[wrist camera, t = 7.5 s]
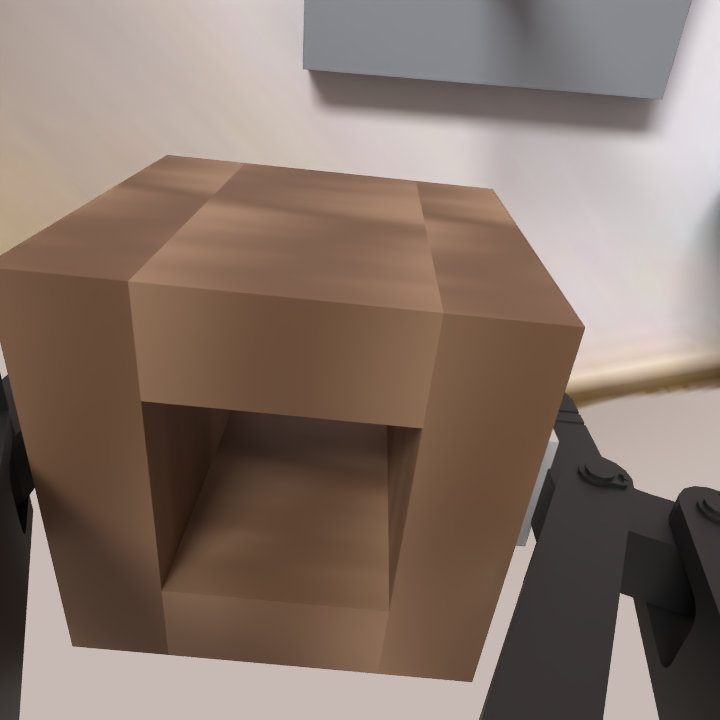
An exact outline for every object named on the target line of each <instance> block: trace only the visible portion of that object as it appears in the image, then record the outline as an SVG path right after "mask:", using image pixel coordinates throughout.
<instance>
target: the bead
mask: <svg viewBox="0 0 720 720" xmlns="http://www.w3.org/2000/svg"><path fill="white" fill-rule="evenodd" d="M584 330H585V326H584V325H583V323H582V322H581V320H580V319H579V317H578V316H577V314H576V313H575V311H574V310H573V308H572V307H571V305H570V304H569V302H568V301H567V299H566V298H565V296H564V295H563V293H562V292H561V290H560V289H559V287H558V286H557V284H556V283H555V281H554V280H553V279H552V277H551V276H550V274H549V273H548V271H547V270H546V268H545V267H544V265H543V264H542V262H541V261H540V259H539V258H538V256H537V255H536V253H535V252H534V250H533V249H532V247H531V246H530V244H529V243H528V241H527V240H526V238H525V237H524V235H523V234H522V232H521V231H520V229H519V228H518V226H517V225H516V223H515V222H514V220H513V219H512V217H511V216H510V214H509V213H508V211H507V210H506V208H505V207H504V205H503V204H502V202H501V201H500V199H499V198H498V196H497V195H496V193H495V192H494V190H493V189H486V188H477V187H467V186H458V185H448V184H439V183H429V182H419V181H410V180H400V179H391V178H381V177H372V176H362V175H353V174H343V173H334V172H324V171H315V170H305V169H295V168H286V167H276V166H267V165H257V164H248V163H238V162H229V161H219V160H210V159H200V158H191V157H181V156H172V155H167V156H165V157H163V158H162V159H160V160H158V161H157V162H155V163H153V164H152V165H150V166H148V167H147V168H145V169H143V170H142V171H140V172H138V173H137V174H135V175H133V176H132V177H130V178H128V179H127V180H125V181H123V182H122V183H120V184H118V185H117V186H115V187H114V188H112V189H110V190H109V191H107V192H105V193H104V194H102V195H100V196H99V197H97V198H95V199H94V200H92V201H90V202H89V203H87V204H85V205H84V206H82V207H80V208H79V209H77V210H75V211H74V212H72V213H70V214H69V215H67V216H65V217H64V218H62V219H60V220H59V221H57V222H55V223H54V224H52V225H50V226H49V227H47V228H46V229H44V230H42V231H41V232H39V233H37V234H36V235H34V236H32V237H31V238H29V239H27V240H26V241H24V242H22V243H21V244H19V245H17V246H16V247H14V248H12V249H11V250H9V251H7V252H6V253H4V254H2V255H1V256H0V343H1V347H2V351H3V355H4V359H5V363H6V368H7V372H8V376H9V380H10V385H11V389H12V393H13V397H14V402H15V406H16V410H17V414H18V418H19V423H20V427H21V431H22V435H23V440H24V444H25V448H26V452H27V456H28V461H29V465H30V469H31V473H32V477H33V482H34V486H35V490H36V494H37V498H38V502H39V507H40V511H41V515H42V520H43V524H44V528H45V532H46V537H47V541H48V545H49V549H50V553H51V558H52V561H53V566H54V570H55V574H56V579H57V583H58V587H59V591H60V595H61V599H62V604H63V608H64V612H65V617H66V621H67V625H68V629H69V634H70V637H71V642H72V646H76V647H87V648H99V649H110V650H121V651H132V652H143V653H154V654H166V655H176V656H187V657H199V658H210V659H221V660H233V661H243V662H254V663H266V664H277V665H287V666H288V665H289V666H299V667H310V668H321V669H333V670H343V671H355V672H365V673H377V674H388V675H399V676H411V677H421V678H432V679H444V680H455V681H466V682H472V680H473V678H474V674H475V671H476V668H477V665H478V662H479V659H480V655H481V652H482V649H483V646H484V643H485V640H486V637H487V634H488V630H489V627H490V624H491V621H492V618H493V615H494V612H495V608H496V605H497V602H498V599H499V596H500V593H501V590H502V586H503V584H504V580H505V577H506V574H507V571H508V568H509V565H510V561H511V558H512V555H513V552H514V549H515V546H516V543H517V540H518V537H519V533H520V530H521V527H522V524H523V521H524V518H525V515H526V511H527V508H528V505H529V502H530V499H531V496H532V493H533V489H534V486H535V483H536V480H537V477H538V474H539V471H540V468H541V464H542V461H543V458H544V455H545V452H546V449H547V446H548V442H549V439H550V436H551V433H552V430H553V427H554V424H555V421H556V417H557V414H558V411H559V408H560V405H561V402H562V399H563V395H564V392H565V389H566V386H567V383H568V380H569V377H570V374H571V370H572V367H573V364H574V361H575V358H576V355H577V352H578V348H579V345H580V342H581V339H582V336H583V333H584Z"/></svg>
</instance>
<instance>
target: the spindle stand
mask: <svg viewBox="0 0 720 720" xmlns="http://www.w3.org/2000/svg"><path fill="white" fill-rule="evenodd" d="M691 1H692V0H304V41H303V69H307V70H319V71H331V72H343V73H354V74H366V75H378V76H390V77H402V78H414V79H425V80H437V81H449V82H461V83H473V84H485V85H496V86H508V87H520V88H532V89H544V90H556V91H567V92H579V93H591V94H603V95H615V96H627V97H638V98H650V99H662V98H663V94H664V91H665V88H666V84H667V81H668V78H669V74H670V71H671V68H672V64H673V61H674V58H675V54H676V51H677V48H678V44H679V41H680V38H681V34H682V31H683V28H684V24H685V21H686V18H687V14H688V11H689V8H690V4H691Z"/></svg>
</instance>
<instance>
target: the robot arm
mask: <svg viewBox="0 0 720 720" xmlns="http://www.w3.org/2000/svg"><path fill="white" fill-rule="evenodd" d="M578 413H579V412H578V410H577V408H576V406H575V404H574V402H573V400H572V398H570V397H569V396H568V395H567V394H566V393H565V392H564V395H563V399H562V402H561V405H560V408H559V411H558V414H557V417H556V421H555V424H554V427H553V430H552V433H551V436H550V439H549V442H548V446H547V449H546V452H545V455H544V458H543V461H542V464H541V468H540V471H539V474H538V477H537V480H536V483H535V486H534V489H533V493H532V496H531V499H530V502H529V505H528V508H527V511H526V515H525V518H524V521H523V524H522V527H521V530H520V533H519V537H518V540H517V543H516V546H525V545H526V542H527V539H528V536H529V532H530V529H531V526H532V529H533V532H534V536H535V539H536V542H537V543H536V545H535V548H534V551H533V554H532V557H531V560H530V563H529V566H528V569H527V572H526V575H525V578H524V581H523V585H522V588H521V591H520V594H519V597H518V601H517V604H516V607H515V610H514V613H513V616H512V619H511V622H510V626H509V628H508V632H507V635H506V638H505V641H504V644H503V647H502V650H501V653H500V656H499V660H498V663H497V666H496V669H495V672H494V675H493V678H492V681H491V684H490V687H489V690H488V694H487V696H486V700H485V703H484V706H483V709H482V712H481V715H480V718H479V720H603V714H604V707H605V699H606V692H607V685H608V677H609V670H610V663H611V655H612V647H613V640H614V633H615V625H616V618H617V610H618V603H619V596H620V593H622V594H625V595H627V596H631V597H633V599H634V603H635V608H636V613H637V618H638V622H639V627H640V632H641V636H642V641H643V646H644V650H645V655H646V660H647V664H648V669H649V674H650V678H651V683H652V688H653V692H654V697H655V702H656V706H657V711H658V716H659V720H720V491H717V490H714V489H710V488H707V487H697V486H693V487H689V488H685V489H683V490H682V492H681V493H680V494H679V496H678V498H677V500H676V502H674V501H671V500H667V499H664V498H661V497H657V496H654V495H651V494H648V493H645V492H642V491H640V490H637V489H635V488H634V486H633V481H632V478H631V477H630V476H629V475H628V474H627V472H626V471H625V470H624V469H622V468H621V467H620V466H619V465H617V464H616V463H614V462H612V461H610V460H607V459H605V458H603V457H601V455H600V453H599V451H598V449H597V447H596V445H595V443H594V441H593V439H592V437H591V435H590V433H589V431H588V429H587V427H586V426H585V425H584V421H583V419H582V418H581V416H580V415H579V414H578ZM34 488H35V486H34V482H33V477H32V473H31V469H30V465H29V461H28V456H27V452H26V448H25V444H24V440H23V435H22V431H21V427H20V423H19V418H18V414H17V410H16V406H15V402H14V397H13V393H12V389H11V385H10V380H9V376H8V375H7V376H6V377H4V378H3V379H1V374H0V720H19V714H20V699H21V698H20V697H21V684H22V668H23V654H24V637H25V624H26V609H27V594H28V579H29V564H30V549H31V534H32V519H33V508H32V504H31V500H30V493H31V492H32V491H33V489H34Z"/></svg>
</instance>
